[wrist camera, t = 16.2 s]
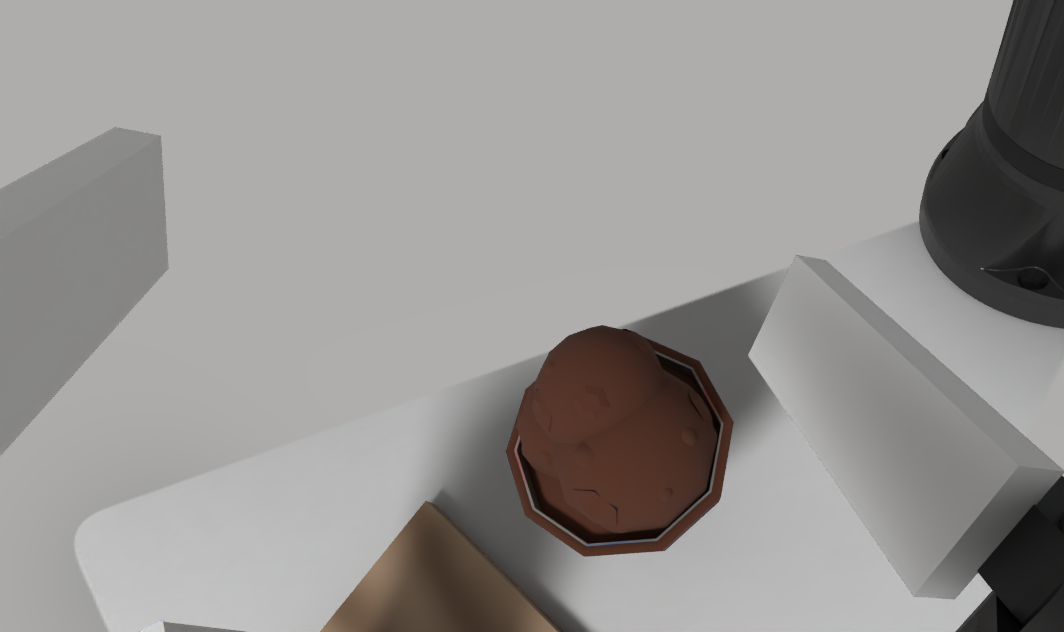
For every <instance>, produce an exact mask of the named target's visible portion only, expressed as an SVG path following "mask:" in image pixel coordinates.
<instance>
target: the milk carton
mask: <svg viewBox="0 0 1064 632" xmlns="http://www.w3.org/2000/svg"><path fill="white" fill-rule="evenodd" d="M140 632H244V631H236V630H227V629H219V628H210V627H202V626H193V625H185V624H176V623H168V622H164V621H162V620H161V621H159V622H157V623H155V624H153V625H151V626H149V627H147V628H145V629H144V630H142V631H140Z"/></svg>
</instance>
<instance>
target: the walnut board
mask: <svg viewBox="0 0 1064 632" xmlns="http://www.w3.org/2000/svg"><path fill="white" fill-rule="evenodd" d="M320 632H562V631H561V630H560V629H559V628H558V627H557V626H556V625H555V624H554V623H553V622H552V621H551V620H550V619H549V618H548V617H547V616H546V615H545V614H544V613H543V612H542V611H541V610H540V609H539V608H538V607H537V606H536V605H535V604H534V603H533V602H532V601H531V600H530V599H529V598H528V597H527V596H526V595H525V594H524V593H523V592H522V591H521V590H520V589H519V588H518V587H517V586H516V585H515V584H514V583H513V582H512V581H511V580H510V579H509V578H508V577H507V576H506V575H505V574H504V573H503V572H502V571H501V570H500V569H499V568H498V567H497V566H496V565H495V564H494V563H493V562H492V561H491V560H490V559H489V558H488V557H487V556H486V555H485V554H484V553H483V552H482V551H481V550H480V549H479V548H478V547H477V546H476V545H475V544H474V543H473V542H472V541H471V540H470V539H469V538H468V537H467V536H466V535H465V534H464V533H462V532H461V531H460V530H459V529H458V528H457V527H456V526H455V525H454V524H453V523H452V522H451V521H450V520H449V519H448V518H447V517H446V516H445V515H444V514H443V513H442V512H441V511H440V510H439V509H438V508H437V507H436V506H435V505H434V504H432V503H430V502H428V501H425V503H424V504H423V505H422V506H421V507H420V509H419V510H418V511H417V512H416V514H415V515H414V516H413V517H412V519H411V520H410V521H409V522H408V524H407V525H406V526H405V527H404V528H403V530H402V531H401V532H400V533H399V535H398V536H397V537H396V538H395V540H394V541H393V542H392V543H391V545H390V546H389V547H388V548H387V550H386V551H385V552H384V553H383V554H382V556H381V557H380V558H379V559H378V561H377V562H376V563H375V564H374V566H373V567H372V568H371V569H370V571H369V572H368V573H367V574H366V576H365V577H364V578H363V579H362V580H361V582H360V583H359V584H358V585H357V587H356V588H355V589H354V590H353V592H352V593H351V594H350V595H349V597H348V598H347V599H346V600H345V602H344V603H343V604H342V605H341V606H340V608H339V609H338V610H337V611H336V613H335V614H334V615H333V616H332V618H331V619H330V620H329V621H328V623H327V624H326V625H325V626H324V628H323V629H322V630H321V631H320Z"/></svg>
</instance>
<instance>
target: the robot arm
mask: <svg viewBox="0 0 1064 632" xmlns="http://www.w3.org/2000/svg"><path fill="white" fill-rule="evenodd" d="M164 201H165V200H164V183H163V165H162V148H161V136H159V135H154V134H148V133H143V132H138V131H133V130H127V129H122V128H117V127H115V128H113V129H111V130H109V131H107V132H105V133H104V134H102V135H100V136H98V137H96V138H94V139H92V140H90V141H89V142H87V143H85V144H83V145H81V146H79V147H77V148H76V149H74V150H72V151H70V152H68V153H66V154H65V155H63V156H61V157H59V158H57V159H55V160H53V161H51V162H50V163H48V164H46V165H44V166H42V167H41V168H38V169H37V170H35V171H33V172H31V173H29V174H27V175H25V176H24V177H22V178H20V179H18V180H17V181H14V182H13V183H11V184H9V185H7V186H5V187H3V188H1V189H0V456H1V455H2V453H3V452H4V451H5V450H6V449H7V448H8V447H9V446H10V445H11V443H12V442H13V441H14V440H15V439H16V438H17V436H19V435H20V433H21V432H22V431H23V430H24V429H25V428H26V427H27V426H28V425H29V424H30V422H31V421H32V420H33V419H34V418H35V417H36V416H37V415H38V413H39V412H40V411H41V410H42V409H43V408H44V407H45V406H46V405H47V403H48V402H49V401H50V400H51V399H52V398H53V397H54V396H55V395H56V393H57V392H58V391H59V390H60V389H61V388H62V386H64V384H65V383H66V382H67V381H68V380H69V379H70V378H71V377H72V376H73V374H74V373H75V372H76V371H77V370H78V369H79V368H80V367H81V365H82V364H83V363H84V362H85V361H86V360H87V359H88V358H89V357H90V355H91V354H92V353H93V352H94V351H95V350H96V349H97V348H98V347H99V345H100V344H101V343H102V342H103V341H104V340H105V339H106V338H107V336H108V335H109V334H110V333H111V332H112V331H113V330H114V329H115V327H116V326H117V325H118V324H119V323H120V322H121V321H122V320H123V319H124V317H125V316H126V315H127V314H128V313H129V312H130V311H131V309H133V307H134V306H135V305H136V304H137V303H138V302H139V301H140V300H141V298H142V297H143V296H144V295H145V294H146V293H147V292H148V291H149V290H150V288H151V287H152V286H153V285H154V284H155V283H156V282H157V281H158V279H159V278H160V277H161V276H162V275H163V274H164V273H165V272H166V271H167V270H168V252H167V235H166V220H165V219H166V217H165V202H164ZM919 221H920V230H921V234H922V238H923V241H924V243H925V246H926V248H927V250H928V252H929V254H930V256H931V257H932V259H933V260H934V262H935V263H936V265H937V266H938V267H939V268H940V270H941V271H942V272H943V273H944V274H945V275H946V276H947V277H948V278H949V279H950V280H951V281H952V282H953V283H954V284H956V285H957V286H958V287H959V288H961V289H962V290H963V291H965V292H966V293H967V294H969V295H970V296H972V297H974V298H975V299H977V300H979V301H980V302H982V303H984V304H986V305H988V306H990V307H992V308H994V309H996V310H998V311H1001V312H1003V313H1005V314H1008V315H1011V316H1014V317H1016V318H1019V319H1023V320H1026V321H1029V322H1033V323H1037V324H1042V325H1046V326H1052V327H1057V328H1064V0H1014V1H1013V5H1012V8H1011V11H1010V14H1009V18H1008V21H1007V25H1006V28H1005V32H1004V35H1003V39H1002V42H1001V45H1000V49H999V52H998V56H997V59H996V63H995V65H994V69H993V72H992V76H991V79H990V82H989V85H988V88H987V92H986V95H985V99H984V101H983V102H982V103H981V104H980V106H979V107H978V108H977V109H976V110H975V112H974V113H973V114H972V116H971V117H970V118H969V120H968V122H967V123H966V126H965V127H964V128H963V129H962V130H961V131H960V132H958V133H957V134H956V135H955V136H954V137H953V138H952V139H951V140H950V141H949V143H947V145H946V146H945V147H944V149H943V150H942V151H941V152H940V154H939V155H938V157H937V158H936V160H935V162H934V164H933V166H932V167H931V169H930V172H929V174H928V177H927V180H926V184H925V188H924V192H923V196H922V200H921V205H920V214H919ZM748 356H749V358H750V359H751V361H752V362H753V364H754V365H755V367H756V368H757V369H758V371H759V372H760V374H761V375H762V377H763V378H764V380H765V381H766V383H767V384H768V385H769V387H770V388H771V390H772V391H773V393H774V394H775V396H776V397H777V399H778V400H779V401H780V403H781V404H782V406H783V407H784V409H785V410H786V412H787V413H788V415H789V416H790V418H791V419H792V420H793V422H794V423H795V425H796V426H797V428H798V429H799V431H800V432H801V434H802V435H803V436H804V438H805V439H806V441H807V442H808V444H809V445H810V447H811V448H812V450H813V451H814V452H815V454H816V455H817V457H818V458H819V460H820V461H821V463H822V464H823V466H824V467H825V469H826V470H827V471H828V473H829V474H830V476H831V477H832V479H833V480H834V482H835V483H836V485H837V486H838V487H839V489H840V490H841V492H842V493H843V495H844V496H845V498H846V499H847V501H848V502H849V503H850V505H851V506H852V508H853V509H854V511H855V512H856V514H857V515H858V517H859V518H860V520H861V521H862V522H863V524H864V525H865V527H866V528H867V530H868V531H869V533H870V534H871V536H872V537H873V538H874V540H875V541H876V543H877V544H878V546H879V547H880V549H881V550H882V552H883V553H884V554H885V556H886V557H887V559H888V560H889V562H890V563H891V565H892V566H893V568H894V569H895V571H896V572H897V573H898V575H899V576H900V578H901V579H902V581H903V582H904V584H905V585H906V587H907V588H908V589H909V591H910V592H911V594H912V595H913V596H915V597H929V598H943V599H955V598H956V597H957V596H958V595H959V594H960V593H961V591H962V590H963V589H964V588H965V587H966V586H967V585H968V583H969V582H970V581H971V580H972V579H973V578H974V576H975V575H976V574H977V573H979V574H980V575H981V576H982V578H983V579H984V580H985V581H986V583H987V584H988V585H989V586H990V587H991V589H992V590H993V591H992V592H991V593H990V594H989V595H988V596H987V597H986V598H985V600H984V601H983V602H982V603H981V604H980V605H979V606H978V607H977V608H976V610H975V611H974V612H973V613H972V614H971V615H970V616H969V617H968V618H967V620H966V621H965V622H964V623H963V624H962V625H961V626H960V627H959V629H958V630H957V631H956V632H1064V477H1063V476H1062V474H1063V473H1064V470H1063V469H1062V468H1061V467H1059V466H1058V465H1057V464H1056V463H1055V462H1054V461H1052V460H1051V459H1050V458H1049V457H1048V456H1047V455H1046V454H1045V453H1044V452H1042V451H1041V450H1040V449H1039V448H1038V447H1037V446H1036V445H1034V444H1033V443H1032V442H1031V441H1030V440H1029V439H1028V438H1027V437H1025V436H1024V435H1023V434H1022V433H1021V432H1020V431H1019V430H1017V429H1016V428H1015V427H1014V426H1013V425H1012V424H1011V423H1010V422H1008V421H1007V420H1006V419H1005V418H1004V417H1003V416H1002V415H1000V414H999V413H998V412H997V411H996V410H995V409H994V408H993V407H991V406H990V405H989V404H988V403H987V402H986V401H985V400H983V399H982V398H981V397H980V396H979V395H978V394H977V393H976V392H974V391H973V390H972V389H971V388H970V387H969V386H968V385H966V384H965V383H964V382H963V381H962V380H961V379H960V378H959V377H957V376H956V375H955V374H954V373H953V372H952V371H951V370H949V369H948V368H947V367H946V366H945V365H944V364H943V363H942V362H940V361H939V360H938V359H937V358H936V357H935V356H934V355H932V354H931V353H930V352H929V351H928V350H927V349H926V348H925V347H923V346H922V345H921V344H920V343H919V342H918V341H917V340H915V339H914V338H913V337H912V336H911V335H910V334H909V333H908V332H906V331H905V330H904V329H903V328H902V327H901V326H900V325H898V324H897V323H896V322H895V321H894V320H893V319H892V318H891V317H889V316H888V315H887V314H886V313H885V312H884V311H883V310H881V309H880V308H879V307H878V306H877V305H876V304H875V303H874V302H872V301H871V300H870V299H869V298H868V297H867V296H866V295H864V294H863V293H862V292H861V291H860V290H859V289H858V288H857V287H855V286H854V285H853V284H852V283H851V282H850V281H849V280H847V279H846V278H845V277H844V276H843V275H842V274H841V273H840V272H838V271H837V270H836V269H835V268H834V267H833V266H832V265H830V264H829V263H828V262H827V261H826V260H820V259H815V258H810V257H804V256H799V255H796V256H795V258H794V260H793V262H792V264H791V266H790V268H789V270H788V273H787V275H786V277H785V279H784V281H783V283H782V285H781V287H780V289H779V291H778V294H777V296H776V298H775V300H774V302H773V304H772V306H771V308H770V310H769V312H768V315H767V317H766V319H765V321H764V323H763V325H762V327H761V329H760V331H759V333H758V336H757V338H756V340H755V342H754V344H753V346H752V348H751V350H750V352H749V355H748Z"/></svg>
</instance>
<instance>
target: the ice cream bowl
mask: <svg viewBox="0 0 1064 632" xmlns="http://www.w3.org/2000/svg"><path fill="white" fill-rule="evenodd" d="M732 428H733V420H732V419H731V417H730V415H729V413H728V412H727V410H726V408H725V406H724V404H723V403H722V401H721V399H720V397H719V395H718V394H717V392H716V390H715V388H714V386H713V385H712V383H711V381H710V379H709V378H708V376H707V374H706V372H705V370H704V369H703V367H702V365H701V363H700V361H697V360H695V359H693V358H690V357H688V356H686V355H683V354H681V353H679V352H677V351H674V350H672V349H670V348H667V347H665V346H663V345H661V344H658V343H656V342H654V341H651V340H649V339H647V338H644V337H642V336H641V335H639V334H638V333H636V332H633V331H630V330H627V329H616V328H612V327H607V326H603V325H602V326H597V327H592V328H589V329H586V330H583V331H580V332H577V333H574V334H572V335H569V336H568V337H566V338H565V339H564V340H563V341H562V342H561V343H559V344H558V345H557V346H556V347H555V348H554V349H553V350H551V351H550V352H549V354H548V356H547V358H546V360H545V362H544V364H543V366H542V368H541V370H540V373H539V375H538V377H537V379H536V381H535V382H533V383H532V384H531V385H530V386H529V387H528V388H527V389H526V390H525V393H524V397H523V400H522V403H521V406H520V409H519V412H518V415H517V419H516V422H515V425H514V428H513V431H512V434H511V438H510V441H509V444H508V447H507V450H506V453H507V456H508V459H509V463H510V466H511V469H512V473H513V476H514V479H515V483H516V486H517V489H518V492H519V496H520V499H521V502H522V506H523V509H524V512H525V515H526V516H527V517H528V518H530V519H531V520H533V521H534V522H535V523H537V524H538V525H540V526H541V527H543V528H544V529H545V530H547V531H548V532H550V533H551V534H553V535H554V536H555V537H557V538H558V539H560V540H561V541H563V542H564V543H565V544H567V545H568V546H570V547H571V548H573V549H574V550H575V551H577V552H578V553H580V554H581V555H583V556H600V555H614V554H627V553H641V552H655V551H665V550H666V549H667V548H668V547H670V546H671V545H672V544H673V543H674V542H675V541H676V540H677V539H678V538H679V537H681V536H682V535H683V534H684V533H685V532H686V531H687V530H688V529H689V528H690V527H692V526H693V525H694V524H695V523H696V522H697V521H698V520H699V519H700V518H701V517H703V516H704V515H705V514H706V513H707V512H708V511H709V510H710V509H711V508H712V507H714V506H715V505H716V504H717V503H718V502H719V500H720V498H721V493H722V487H723V481H724V475H725V469H726V463H727V457H728V452H729V446H730V440H731V434H732Z"/></svg>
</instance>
